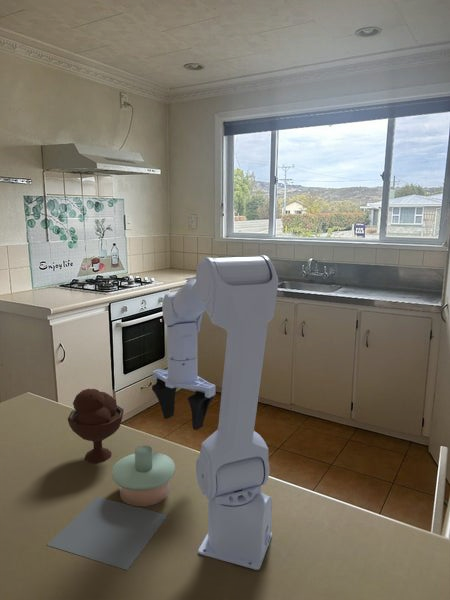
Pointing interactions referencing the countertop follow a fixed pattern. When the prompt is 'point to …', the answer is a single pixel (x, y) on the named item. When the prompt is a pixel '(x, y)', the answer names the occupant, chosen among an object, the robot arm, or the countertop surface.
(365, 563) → the countertop surface
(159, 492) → the dish
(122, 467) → the lid
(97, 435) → the ice cream bowl
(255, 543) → the robot arm
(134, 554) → the placemat
